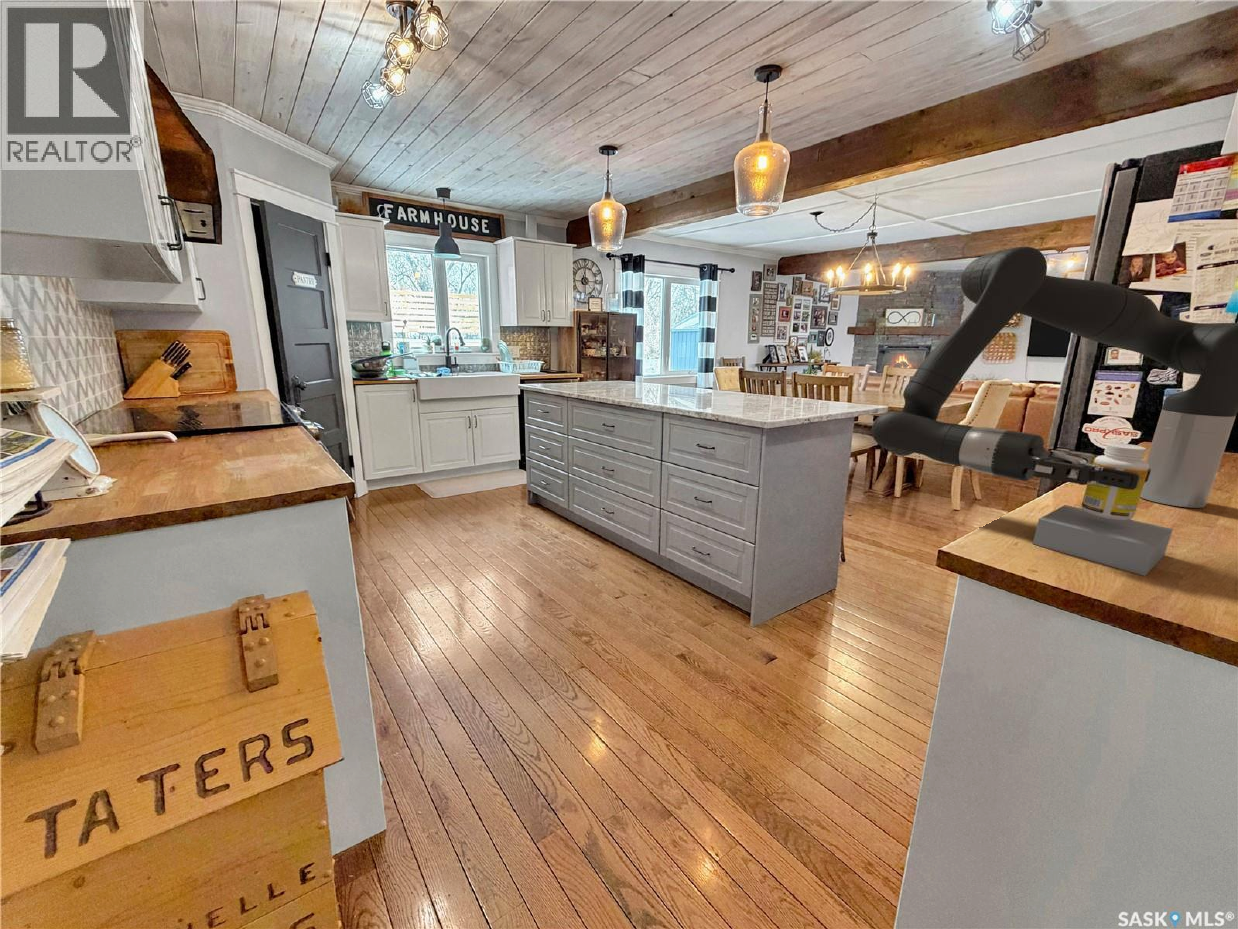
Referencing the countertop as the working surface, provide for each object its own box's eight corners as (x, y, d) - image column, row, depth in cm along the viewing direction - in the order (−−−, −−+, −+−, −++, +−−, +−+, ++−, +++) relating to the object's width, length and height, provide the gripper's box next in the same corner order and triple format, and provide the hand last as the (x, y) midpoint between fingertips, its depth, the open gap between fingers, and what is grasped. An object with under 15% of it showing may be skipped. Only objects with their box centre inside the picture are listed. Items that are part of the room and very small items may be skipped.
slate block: (1059, 528, 82) (1065, 504, 81) (1164, 555, 72) (1173, 529, 71) (1032, 544, 75) (1038, 518, 74) (1144, 576, 65) (1154, 547, 64)
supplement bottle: (1135, 516, 72) (1157, 447, 69) (1129, 524, 68) (1152, 452, 66) (1083, 505, 76) (1103, 439, 73) (1076, 512, 73) (1096, 444, 70)
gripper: (986, 434, 77) (1139, 459, 64) (1021, 426, 85) (1163, 446, 72) (976, 480, 79) (1121, 514, 66) (1011, 468, 87) (1147, 496, 74)
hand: (1142, 478), depth 69 cm, fingers closed on supplement bottle, 5 cm apart
